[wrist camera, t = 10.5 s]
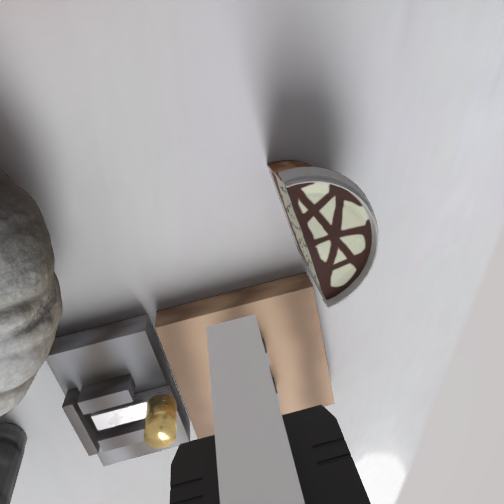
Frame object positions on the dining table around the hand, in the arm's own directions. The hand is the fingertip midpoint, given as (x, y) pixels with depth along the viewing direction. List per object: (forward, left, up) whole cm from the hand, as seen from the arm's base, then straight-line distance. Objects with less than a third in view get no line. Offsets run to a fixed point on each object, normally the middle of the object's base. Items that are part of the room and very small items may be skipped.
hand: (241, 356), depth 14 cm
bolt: (+13, +23, -26) cm, 37 cm away
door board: (+6, +23, -29) cm, 38 cm away
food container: (-9, +7, -30) cm, 32 cm away
